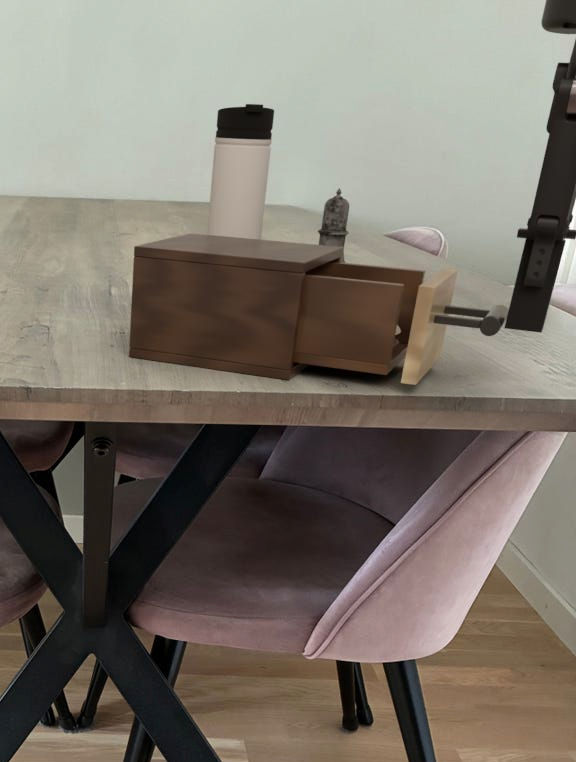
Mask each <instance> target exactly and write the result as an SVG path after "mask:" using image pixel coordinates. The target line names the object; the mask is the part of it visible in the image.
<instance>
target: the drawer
mask: <svg viewBox="0 0 576 762" xmlns="http://www.w3.org/2000/svg"><path fill="white" fill-rule="evenodd" d="M458 271H459V270H458V269H454V268H442V269H441V270H439V271H438V272H437V273H435V274H434V275H432V276H431V277H429V278H428V279H427V280H425V275H426V270H425V269H415V268H404V267H395V266H394V267H393V266H384V265H373V264H363V263H352V262H346V263H343V262H332V261H330V262H328V263H326V264H323V265H321V266H319V267H316V268H314V269H311V270H309V271H307V272H304V273H305V280H304V287H303V295H302V302H301V310H300V317H299V325H298V333H297V340H296V348H295V355H294V362H295V363H303V364H310V365H309V366H317V367H318V366H319V367H324V368H325V367H326V368H332V369H339V370H346V371H353V372H361V373H369V374H375V375H381V376H387V375H388V374H389V373H390V372H392V371H393V369H394V368H395V367H397V365H398V364H400V363H401V361H402V360H404V363H403V367H402V373H401V377H400V378H401V379H400V384H404V385H412V386H417V385H418V384H419V382H420V381H421V380H422V379H423V378H424V377H425V376H426V374H427V373H428V372H429V371H430V370H431V369H432V367H433V366H434V365H435V364H436V363H437V362H438V361H439V359H440V358H441V354H442V350H443V345H444V340H445V335H446V330H447V326H454V327H455V326H456V327H464V328H471V329H472V328H473V329H479V331H480V333H481V334H482V335H484V336H486V337H493V336H495V335H496V334H498V333H499V332H500V330H501V329H502V327H503V326H504V325H505V323H506V319H507V315H508V311H509V308H508V307H507V306H506V305H504V304H496V305H494V306H493V307H492V308H491V309H486V308H477V307H469V306H468V307H466V306H465V307H464V306H459V305H458V306H457V305H452V301H453V296H454V291H455V288H456V287H455V286H456V281H457V277H458ZM471 317H472V318H471ZM397 325H398V326H399V328H400V330H401V332H400V333H399V334H397V335H395V333H396V328H397ZM395 338H396V339H397V340H398V341H399V343H398V344H397V346H395V347H394V348H393V344H394V339H395Z"/></svg>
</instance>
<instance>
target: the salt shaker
mask: <svg viewBox="0 0 576 762" xmlns="http://www.w3.org/2000/svg"><path fill="white" fill-rule="evenodd" d="M335 193H336V195H334V196H333V197H331V198H329V199H327V200H326V201H325V203H324V207H323V214H322V221H321V228H320V229H318V230H317V233H318V234H319V240H318V245H325V246H336V247H343V248H344V249H343V255H342V262H343V263H347V261H345V244H346V238H347V236H348V235H350V232H349V231H348V230H347V225H348V218H349V212H350V203H349V201H348V200H347V199H346V198H344V197H343V196H342V195H341V194H342V190H341V188H338V189H337V190H336V191H335Z"/></svg>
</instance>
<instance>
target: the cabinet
mask: <svg viewBox="0 0 576 762" xmlns="http://www.w3.org/2000/svg"><path fill="white" fill-rule="evenodd" d="M343 249H344V250H345V247H344V248H343V247H336V246H325V245H319V244H313V243H303V242H291V241H290V242H289V241H279V240H269V239H261V240H258V239H247V238H236V237H225V236H214V235H207V234H201V233H191V232H190V233H185V234H182V235H178V236H173V237H168V238H165V239H160V240H156V241H151V242H147V243H144V244H138V245H135V246H134V248H133V264H132V265H133V267H132V268H133V269H132V286H131V288H132V289H131V304H130V305H131V307H130V308H131V309H130V324H129V325H130V328H129V344H128V345H129V347H128V349H129V350H128V357H129V358H133V359H141V360H149V361H156V362H162V363H169V364H177V365H184V366H190V367H195V368H201V369H203V368H204V369H210V370H216V371H217V370H218V371H222V372H223V371H224V372H230V373H237V374H243V375H244V374H245V375H252V376H256V377H257V376H258V377H264V378H272V379H279V380H286V381H290V380H291V379H293V378H294V377H295V376H296V375H298V374H299V373H301V372H302V371H304V370H305V369H306V368H308V367H309V366H311V365H310V364H303V363H295V362H294V355H295V348H296V340H297V333H298V325H299V317H300V310H301V302H302V295H303V287H304V280H305V273H304V272H307V271H309V270H311V269H314V268H316V267H319V266H321V265H323V264H326V263H328V262H330V261H332V262H342V255H343Z"/></svg>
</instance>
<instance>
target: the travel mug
mask: <svg viewBox="0 0 576 762" xmlns="http://www.w3.org/2000/svg"><path fill="white" fill-rule="evenodd" d="M274 117H275V110H274V109H273V108H269V107H264V104H259V103H258V104H257V103H256V104H255V103H245V106H232V107H223V108H221V109H218V110H217V117H216V118H217V119H216V128H217V130H216V131H215V138H214V142H215V145H214V146H213V147H214V148H213V160H212V171H211V185H210V196H209V207H208V219H207V231H206V235H214V236H225V237H236V238H247V239H258V240H262V232H263V223H264V214H265V204H266V196H267V187H268V186H267V185H268V178H269V169H270V159H271V149H272V147H271V145H272V136H273V133H272V130H273V127H274Z"/></svg>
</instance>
